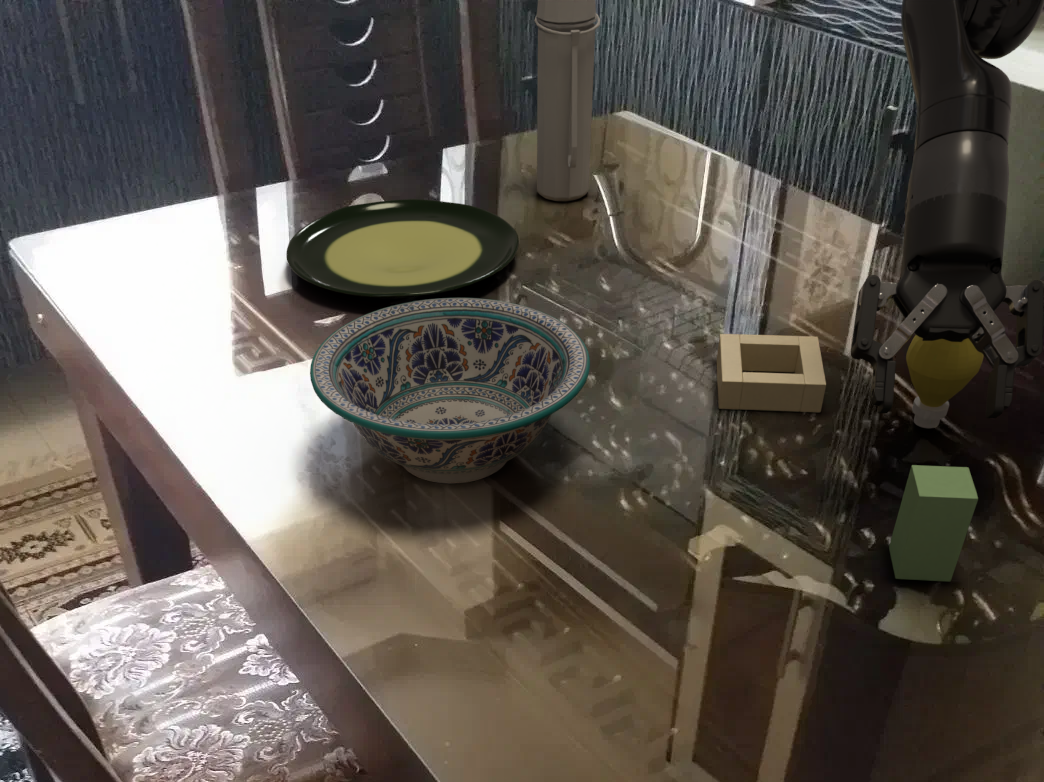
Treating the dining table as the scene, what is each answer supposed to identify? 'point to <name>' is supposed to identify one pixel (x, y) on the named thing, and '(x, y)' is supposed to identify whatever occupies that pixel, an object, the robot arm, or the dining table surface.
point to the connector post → (932, 522)
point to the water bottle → (565, 96)
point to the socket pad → (770, 388)
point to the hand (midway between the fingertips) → (939, 413)
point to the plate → (402, 248)
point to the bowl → (450, 382)
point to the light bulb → (939, 375)
